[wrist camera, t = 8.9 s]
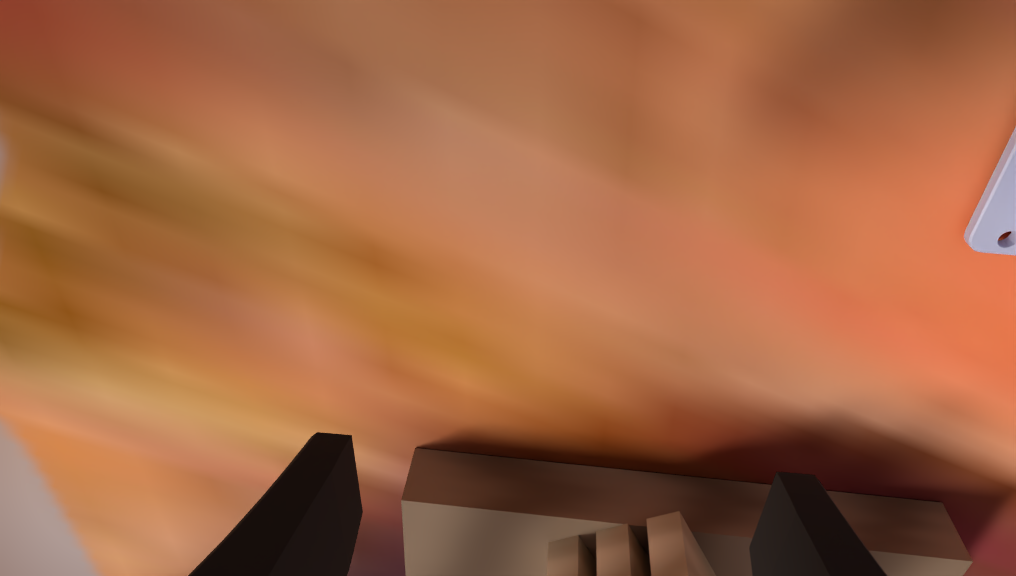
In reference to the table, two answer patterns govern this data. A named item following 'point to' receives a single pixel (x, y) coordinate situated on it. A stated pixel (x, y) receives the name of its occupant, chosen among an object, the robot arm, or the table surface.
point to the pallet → (632, 552)
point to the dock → (627, 517)
